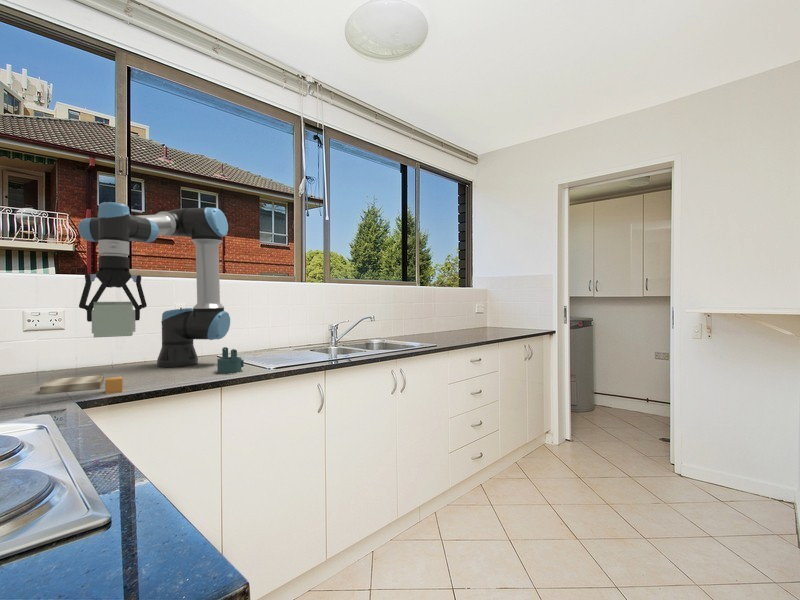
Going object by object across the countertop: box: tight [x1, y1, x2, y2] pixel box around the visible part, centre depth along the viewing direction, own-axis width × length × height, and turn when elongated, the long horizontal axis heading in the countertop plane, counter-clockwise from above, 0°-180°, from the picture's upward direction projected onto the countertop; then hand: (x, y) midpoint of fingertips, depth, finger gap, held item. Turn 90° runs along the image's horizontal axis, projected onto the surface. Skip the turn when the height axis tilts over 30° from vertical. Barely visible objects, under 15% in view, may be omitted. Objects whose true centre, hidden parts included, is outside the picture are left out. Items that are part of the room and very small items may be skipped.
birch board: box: [39, 374, 105, 395], centre depth 128 cm, size 14×14×2 cm
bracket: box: [217, 346, 245, 375], centre depth 156 cm, size 9×9×9 cm
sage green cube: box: [93, 301, 134, 338], centre depth 122 cm, size 9×9×10 cm
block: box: [104, 376, 124, 394], centre depth 122 cm, size 4×4×4 cm
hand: (114, 332), depth 122 cm, fingers closed on sage green cube, 9 cm apart
